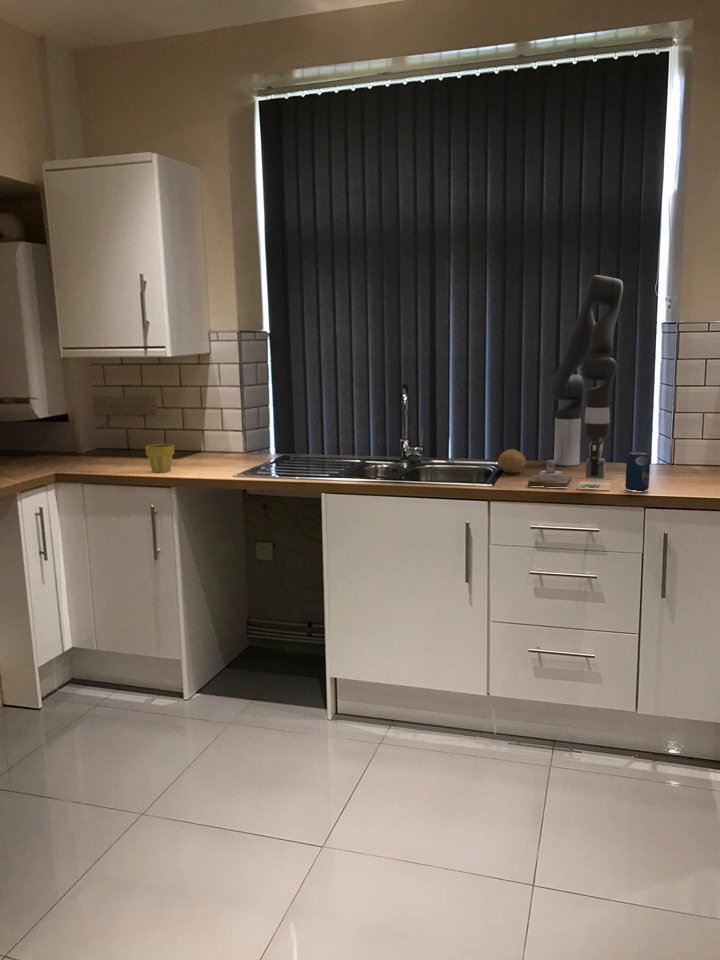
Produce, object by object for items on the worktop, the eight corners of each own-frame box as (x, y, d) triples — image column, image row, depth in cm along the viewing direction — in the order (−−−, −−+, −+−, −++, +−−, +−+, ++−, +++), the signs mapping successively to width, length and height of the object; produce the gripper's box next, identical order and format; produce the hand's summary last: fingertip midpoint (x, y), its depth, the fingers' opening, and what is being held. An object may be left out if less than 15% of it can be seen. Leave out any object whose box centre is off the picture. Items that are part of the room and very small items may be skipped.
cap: (605, 476, 260) (605, 456, 259) (603, 478, 255) (604, 458, 254) (587, 475, 262) (587, 455, 261) (585, 478, 257) (585, 458, 256)
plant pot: (153, 468, 308) (152, 443, 306) (179, 469, 307) (178, 443, 305) (142, 473, 298) (140, 447, 296) (169, 473, 297) (167, 447, 295)
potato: (497, 476, 281) (497, 453, 279) (498, 469, 294) (498, 447, 293) (525, 476, 279) (526, 454, 278) (525, 469, 293) (526, 447, 291)
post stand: (534, 480, 272) (535, 457, 271) (571, 482, 268) (571, 458, 266) (528, 487, 261) (529, 462, 260) (566, 489, 257) (567, 464, 255)
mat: (580, 483, 266) (580, 481, 266) (611, 485, 262) (611, 483, 262) (576, 489, 257) (576, 487, 257) (609, 491, 253) (609, 489, 253)
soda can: (648, 493, 249) (650, 455, 246) (624, 492, 251) (626, 454, 249) (649, 489, 255) (650, 451, 253) (625, 488, 257) (627, 450, 255)
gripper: (607, 424, 248) (605, 478, 251) (611, 419, 261) (609, 470, 264) (582, 423, 250) (580, 477, 253) (587, 418, 263) (585, 469, 267)
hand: (595, 473), depth 259 cm, fingers closed on cap, 5 cm apart
